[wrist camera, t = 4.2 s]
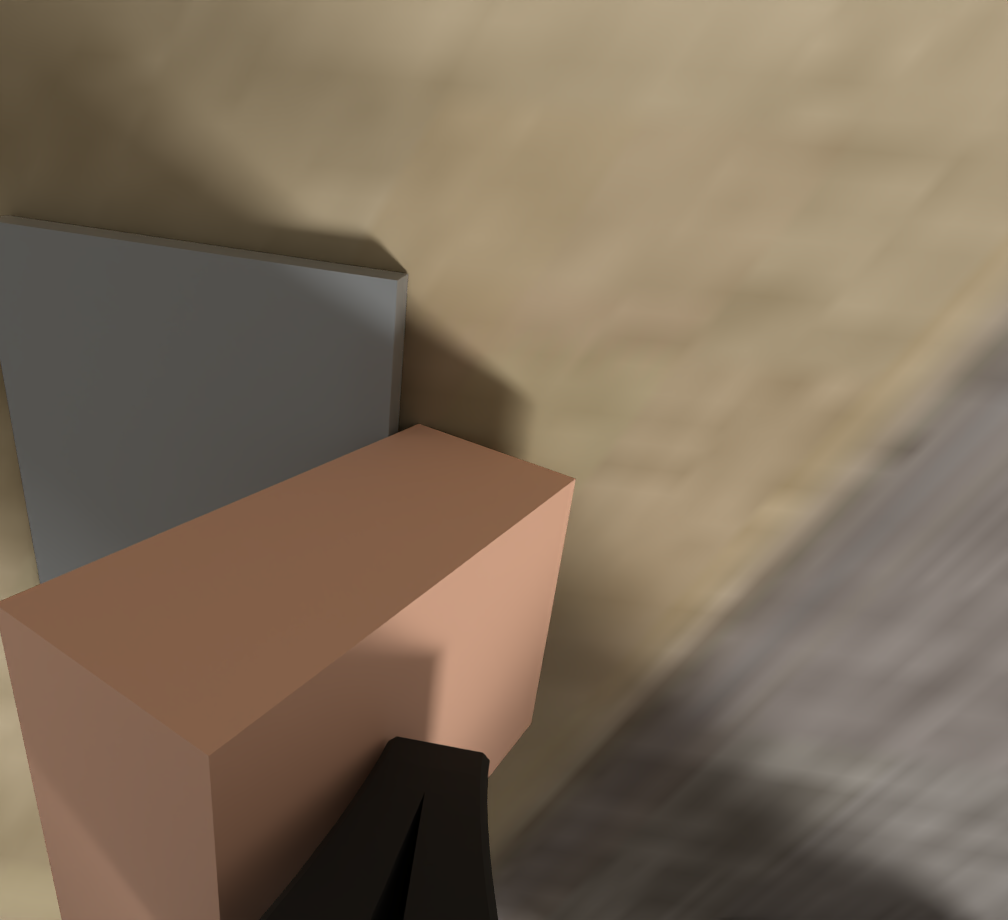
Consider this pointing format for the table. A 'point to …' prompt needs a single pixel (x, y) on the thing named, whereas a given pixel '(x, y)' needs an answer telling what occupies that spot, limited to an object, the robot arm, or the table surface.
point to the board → (180, 377)
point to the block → (278, 668)
